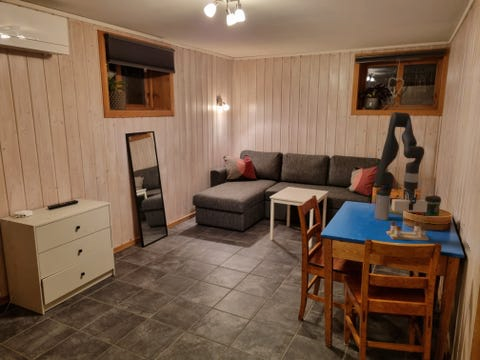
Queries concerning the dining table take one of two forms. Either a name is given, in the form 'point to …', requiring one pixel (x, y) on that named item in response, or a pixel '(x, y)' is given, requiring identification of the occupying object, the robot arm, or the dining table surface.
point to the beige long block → (404, 205)
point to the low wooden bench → (407, 233)
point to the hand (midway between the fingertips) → (408, 208)
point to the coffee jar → (432, 205)
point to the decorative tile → (395, 212)
